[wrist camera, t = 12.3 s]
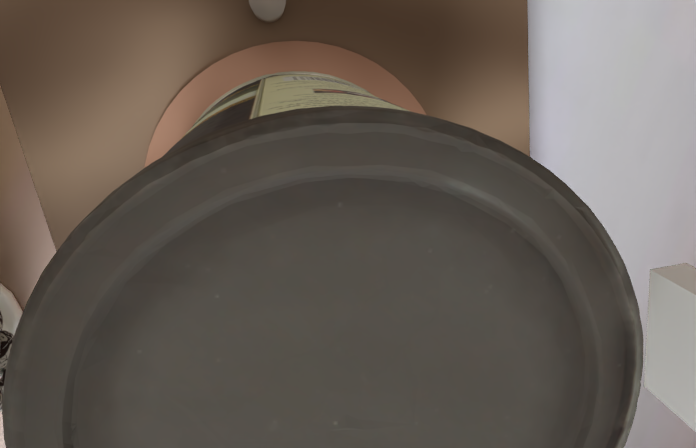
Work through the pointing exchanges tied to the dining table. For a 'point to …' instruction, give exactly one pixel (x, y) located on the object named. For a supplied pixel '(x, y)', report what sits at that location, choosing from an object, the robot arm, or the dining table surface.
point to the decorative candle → (7, 330)
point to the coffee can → (329, 293)
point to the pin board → (235, 74)
